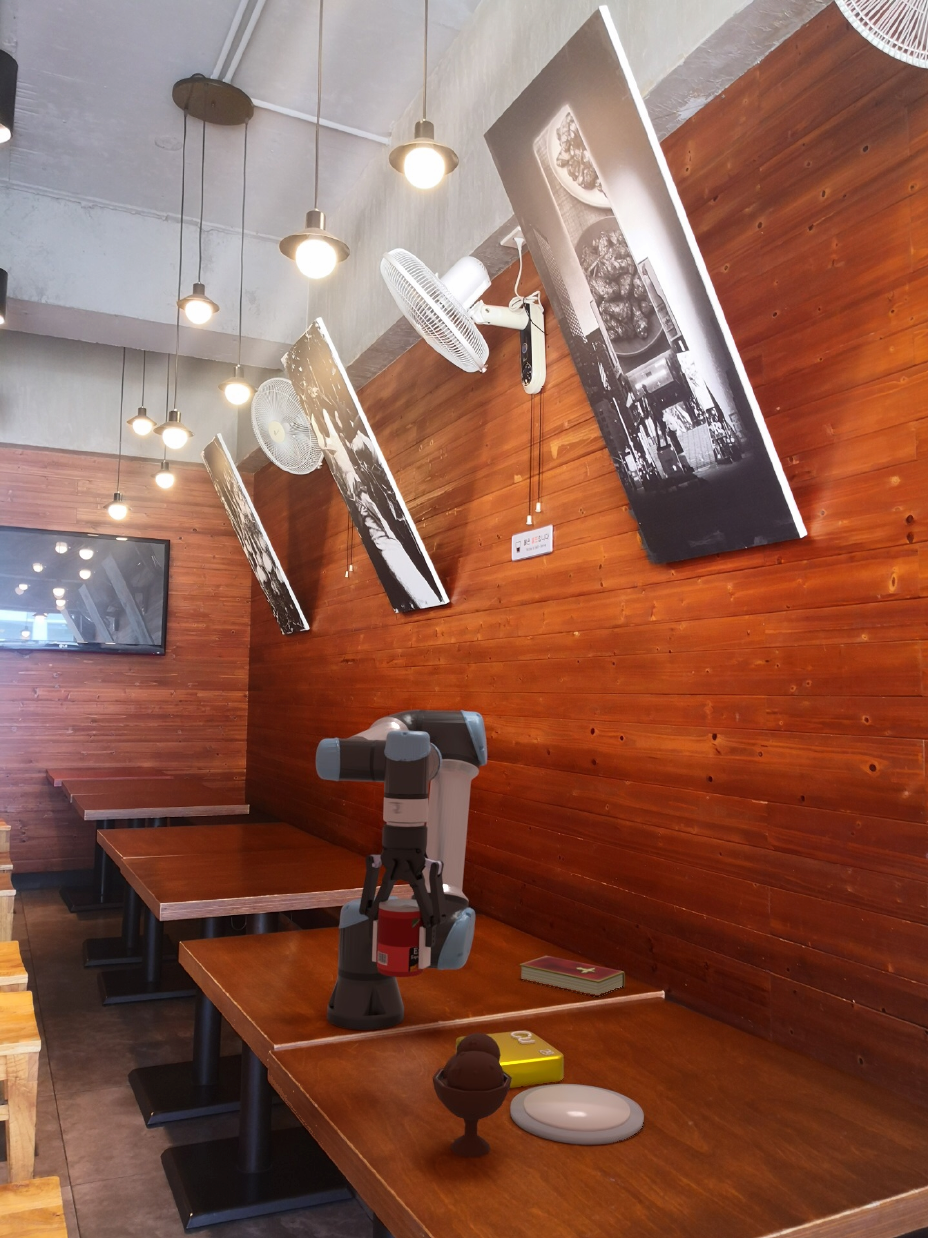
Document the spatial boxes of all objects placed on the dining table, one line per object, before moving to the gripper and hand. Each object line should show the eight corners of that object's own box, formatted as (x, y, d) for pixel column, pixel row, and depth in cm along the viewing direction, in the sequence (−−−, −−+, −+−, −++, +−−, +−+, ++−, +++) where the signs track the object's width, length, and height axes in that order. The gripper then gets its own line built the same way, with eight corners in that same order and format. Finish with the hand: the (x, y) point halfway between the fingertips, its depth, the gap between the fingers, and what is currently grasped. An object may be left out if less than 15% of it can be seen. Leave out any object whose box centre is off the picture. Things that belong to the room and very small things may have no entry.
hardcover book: (547, 972, 231) (547, 954, 231) (624, 989, 218) (625, 970, 218) (518, 982, 222) (519, 963, 222) (598, 1000, 209) (598, 980, 209)
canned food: (418, 979, 154) (420, 909, 155) (370, 975, 155) (372, 906, 156) (429, 967, 161) (431, 900, 162) (383, 963, 163) (386, 897, 164)
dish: (489, 1126, 140) (489, 1116, 140) (537, 1082, 158) (538, 1072, 158) (622, 1156, 132) (623, 1144, 132) (657, 1105, 150) (657, 1095, 150)
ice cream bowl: (428, 1132, 138) (431, 1024, 139) (505, 1132, 139) (507, 1024, 140) (432, 1166, 127) (435, 1049, 129) (515, 1166, 128) (518, 1049, 130)
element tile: (451, 1062, 168) (452, 1034, 168) (528, 1054, 173) (529, 1026, 174) (485, 1094, 154) (486, 1063, 154) (568, 1083, 159) (568, 1053, 160)
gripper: (340, 821, 161) (335, 960, 159) (451, 830, 153) (447, 977, 150) (363, 817, 168) (358, 950, 166) (471, 825, 159) (467, 966, 157)
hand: (400, 963), depth 158 cm, fingers closed on canned food, 8 cm apart
